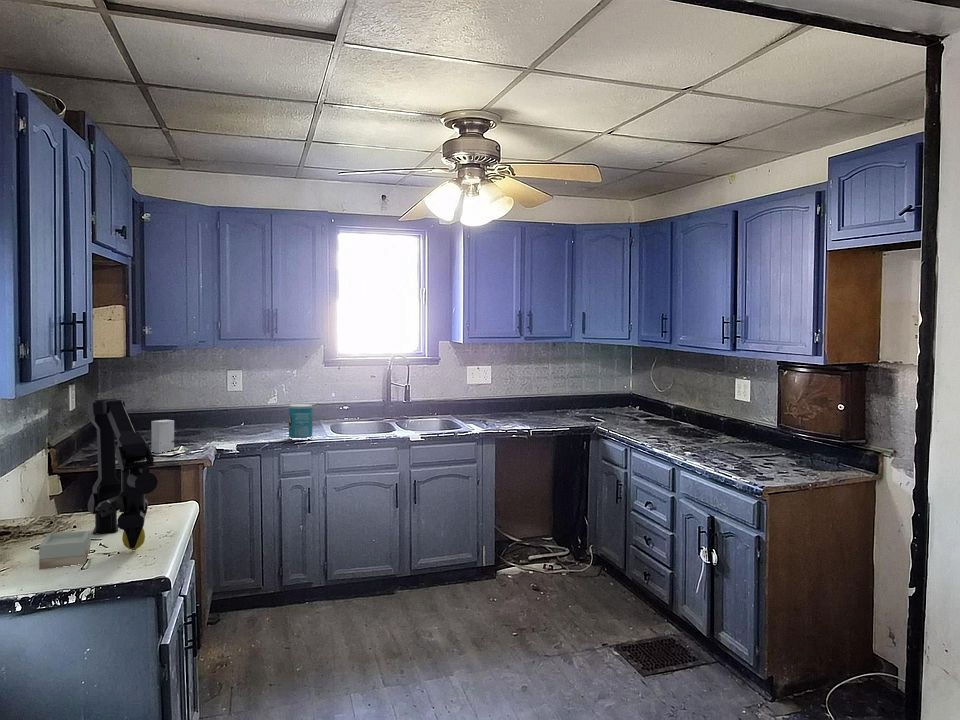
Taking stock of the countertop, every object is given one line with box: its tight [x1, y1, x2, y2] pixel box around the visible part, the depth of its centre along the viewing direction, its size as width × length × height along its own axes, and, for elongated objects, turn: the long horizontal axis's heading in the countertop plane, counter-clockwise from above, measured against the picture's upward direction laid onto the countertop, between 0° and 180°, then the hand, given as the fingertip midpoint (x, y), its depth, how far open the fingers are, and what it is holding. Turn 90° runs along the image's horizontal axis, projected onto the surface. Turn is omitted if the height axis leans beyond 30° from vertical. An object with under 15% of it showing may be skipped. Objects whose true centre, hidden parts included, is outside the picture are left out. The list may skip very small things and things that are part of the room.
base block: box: [38, 544, 91, 570], centre depth 179 cm, size 10×10×3 cm
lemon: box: [121, 527, 146, 551], centre depth 187 cm, size 6×6×8 cm
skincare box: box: [150, 419, 175, 454], centre depth 317 cm, size 8×6×15 cm
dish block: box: [38, 530, 92, 559], centre depth 179 cm, size 10×10×4 cm
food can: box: [288, 403, 313, 438], centre depth 357 cm, size 12×12×18 cm
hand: (133, 542), depth 187 cm, fingers open, 9 cm apart
